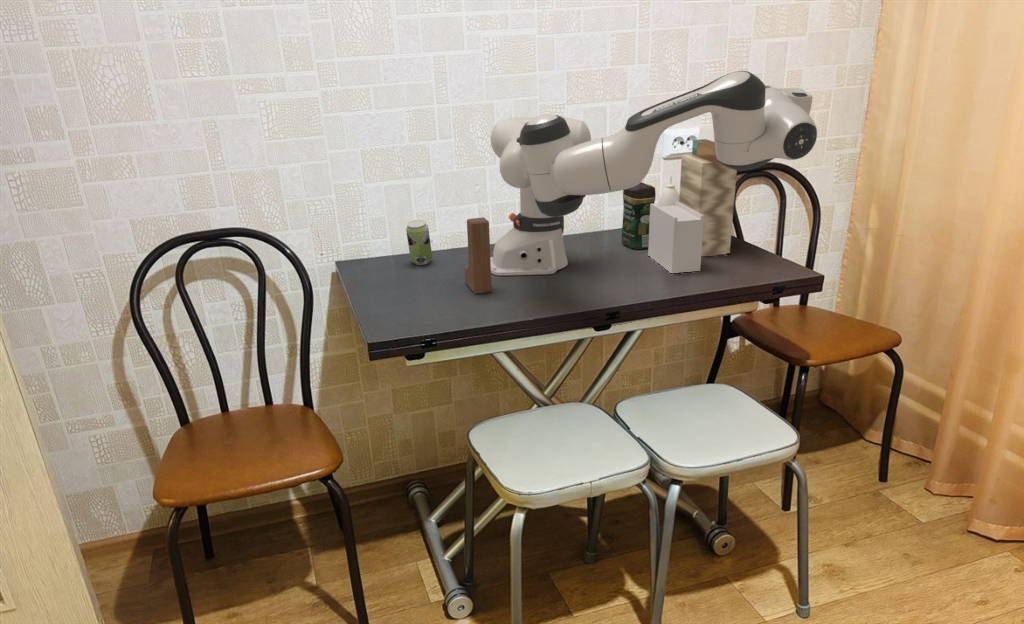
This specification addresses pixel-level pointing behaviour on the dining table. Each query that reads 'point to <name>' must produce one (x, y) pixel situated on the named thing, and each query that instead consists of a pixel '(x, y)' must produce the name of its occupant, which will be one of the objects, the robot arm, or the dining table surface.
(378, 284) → the dining table surface
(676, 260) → the upright white box
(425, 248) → the beverage can
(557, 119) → the robot arm
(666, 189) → the sauce bottle
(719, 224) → the tall patterned box
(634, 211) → the coffee jar
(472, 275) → the wooden block
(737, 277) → the dining table surface
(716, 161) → the brown rectangular block
